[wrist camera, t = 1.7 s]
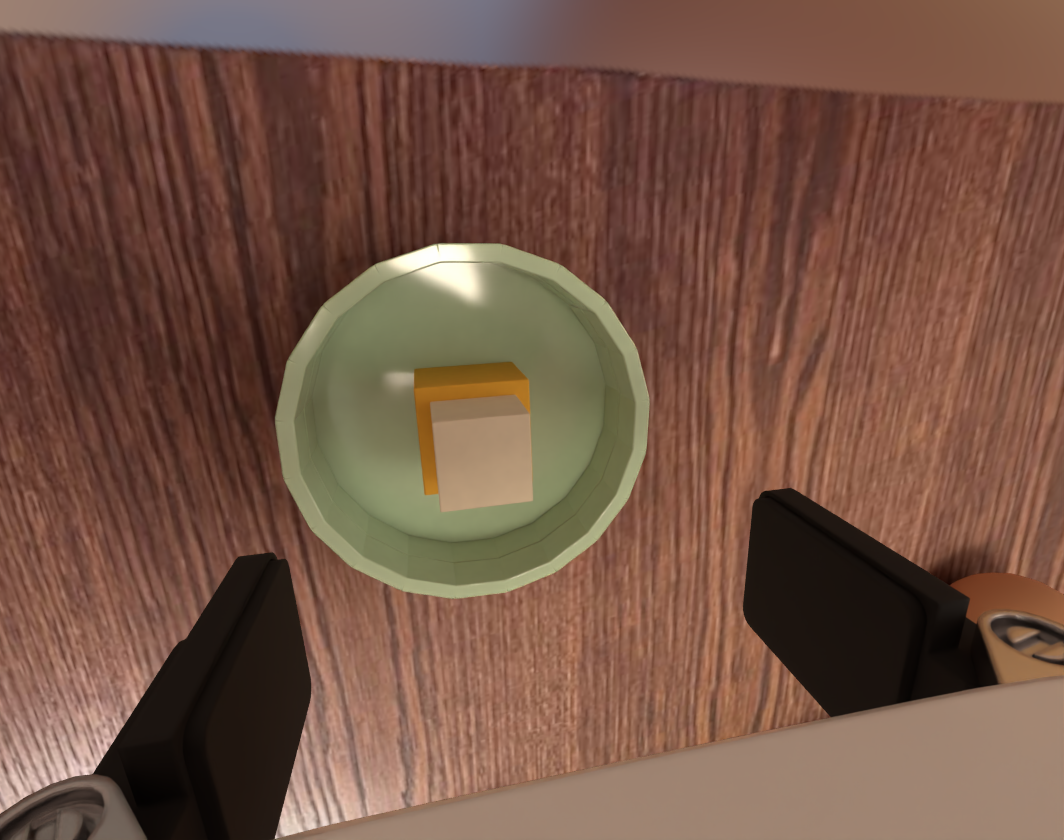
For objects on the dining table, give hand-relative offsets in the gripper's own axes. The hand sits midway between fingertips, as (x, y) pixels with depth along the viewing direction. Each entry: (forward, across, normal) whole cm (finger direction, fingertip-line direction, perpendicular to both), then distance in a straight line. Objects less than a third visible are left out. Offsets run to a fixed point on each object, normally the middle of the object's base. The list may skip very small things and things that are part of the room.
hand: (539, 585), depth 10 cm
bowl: (+13, 0, 0) cm, 13 cm away
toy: (+13, 0, 0) cm, 13 cm away
